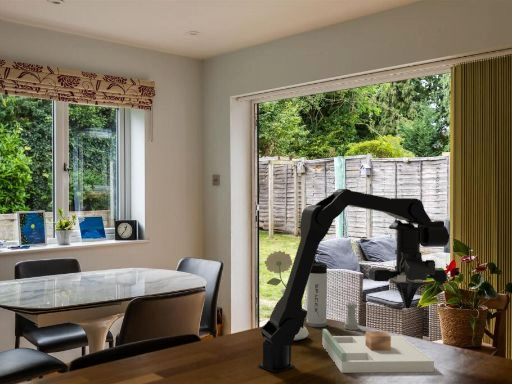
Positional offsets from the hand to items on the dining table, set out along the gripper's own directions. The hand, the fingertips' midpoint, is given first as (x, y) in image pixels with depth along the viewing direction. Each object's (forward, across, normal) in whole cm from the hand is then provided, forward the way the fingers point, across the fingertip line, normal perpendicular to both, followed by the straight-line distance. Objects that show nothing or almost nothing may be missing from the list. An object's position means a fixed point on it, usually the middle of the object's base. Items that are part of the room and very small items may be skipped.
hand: (407, 308), depth 141 cm
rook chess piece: (+13, -7, +30) cm, 34 cm away
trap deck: (+12, -8, 0) cm, 15 cm away
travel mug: (+13, -17, +35) cm, 41 cm away
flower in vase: (+13, -28, +19) cm, 37 cm away
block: (+10, -8, 0) cm, 13 cm away
